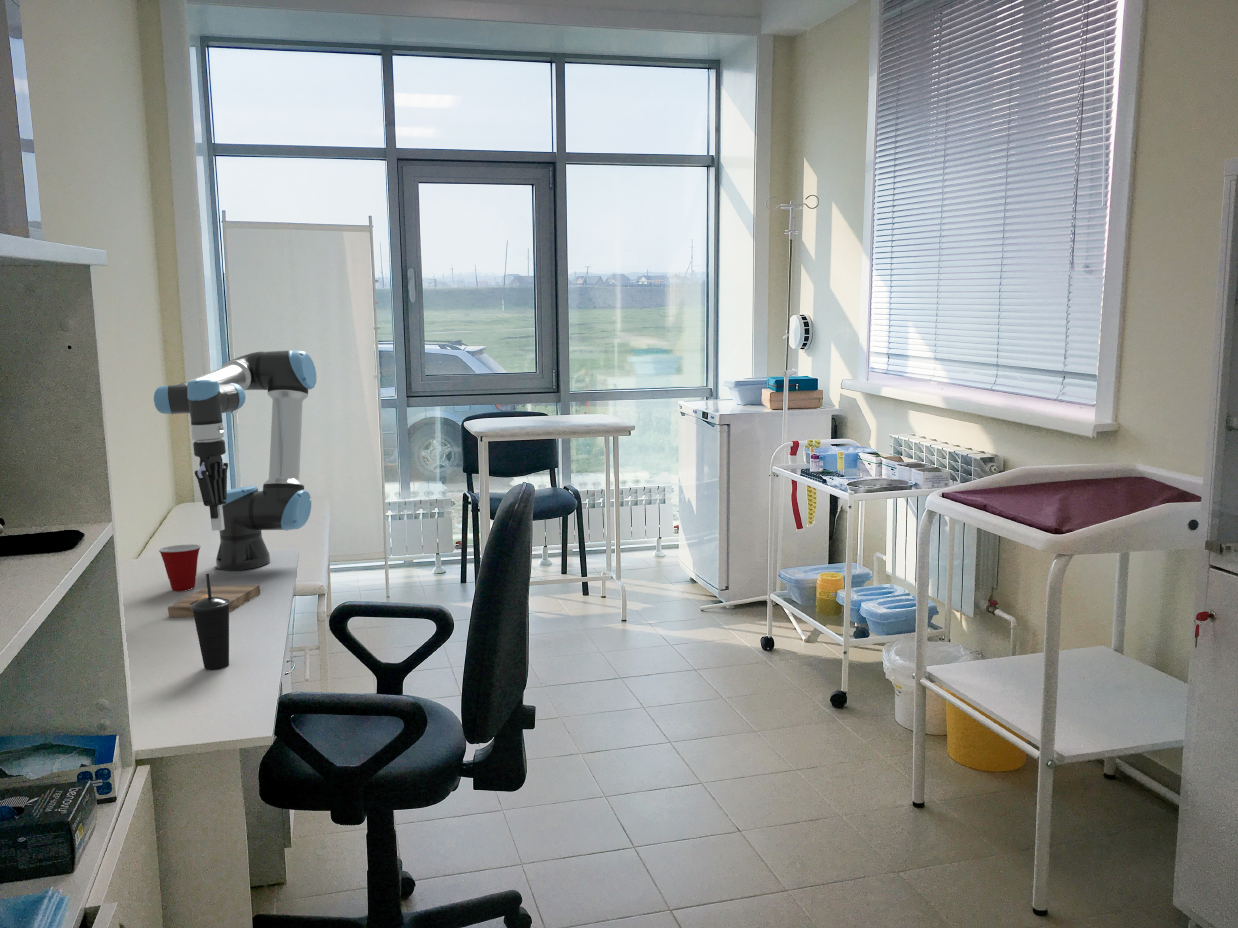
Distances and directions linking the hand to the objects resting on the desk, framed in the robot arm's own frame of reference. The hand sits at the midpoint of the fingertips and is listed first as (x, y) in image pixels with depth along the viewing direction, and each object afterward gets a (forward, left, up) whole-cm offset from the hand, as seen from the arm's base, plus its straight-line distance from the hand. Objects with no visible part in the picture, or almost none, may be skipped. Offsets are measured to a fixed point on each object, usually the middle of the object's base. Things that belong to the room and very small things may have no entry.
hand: (218, 529), depth 255 cm
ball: (+10, +1, -17) cm, 19 cm away
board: (+6, +1, -19) cm, 19 cm away
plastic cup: (-10, -17, -19) cm, 28 cm away
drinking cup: (+50, +25, -19) cm, 59 cm away
